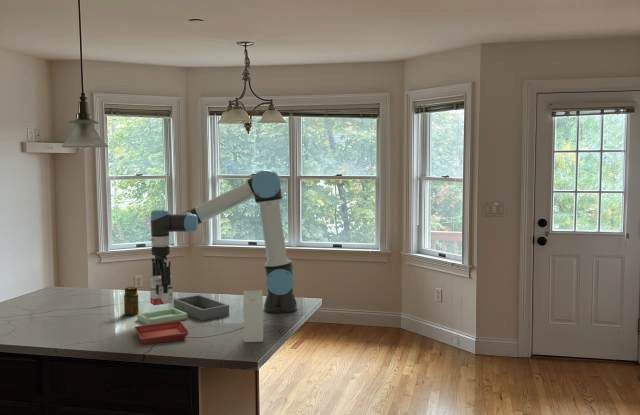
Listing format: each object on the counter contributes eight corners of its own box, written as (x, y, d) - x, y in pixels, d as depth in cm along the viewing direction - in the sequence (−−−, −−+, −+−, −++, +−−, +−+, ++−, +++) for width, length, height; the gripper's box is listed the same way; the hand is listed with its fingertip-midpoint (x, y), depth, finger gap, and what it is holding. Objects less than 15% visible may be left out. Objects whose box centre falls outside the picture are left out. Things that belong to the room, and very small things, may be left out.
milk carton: (244, 337, 230) (243, 288, 228) (263, 336, 230) (262, 288, 229) (244, 342, 223) (243, 292, 221) (263, 342, 223) (262, 292, 222)
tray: (187, 319, 257) (187, 313, 256) (150, 326, 246) (150, 320, 246) (174, 313, 266) (173, 307, 266) (137, 320, 256) (137, 314, 255)
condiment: (139, 311, 270) (138, 285, 269) (140, 316, 262) (139, 289, 261) (122, 313, 267) (121, 287, 266) (123, 318, 259) (122, 291, 259)
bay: (229, 315, 263) (229, 305, 263) (202, 320, 254) (201, 310, 254) (199, 304, 284) (199, 294, 283) (173, 308, 275) (173, 299, 275)
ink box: (154, 305, 251) (153, 278, 250) (150, 303, 255) (149, 276, 254) (173, 302, 256) (172, 275, 255) (169, 300, 260) (168, 274, 259)
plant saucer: (140, 347, 220) (140, 338, 219) (134, 334, 236) (134, 326, 236) (189, 340, 227) (189, 332, 227) (180, 328, 243) (180, 320, 243)
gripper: (143, 244, 258) (144, 296, 260) (161, 248, 244) (162, 304, 246) (159, 242, 263) (160, 294, 265) (178, 247, 249) (179, 301, 251)
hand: (161, 299), depth 255 cm, fingers closed on ink box, 5 cm apart
